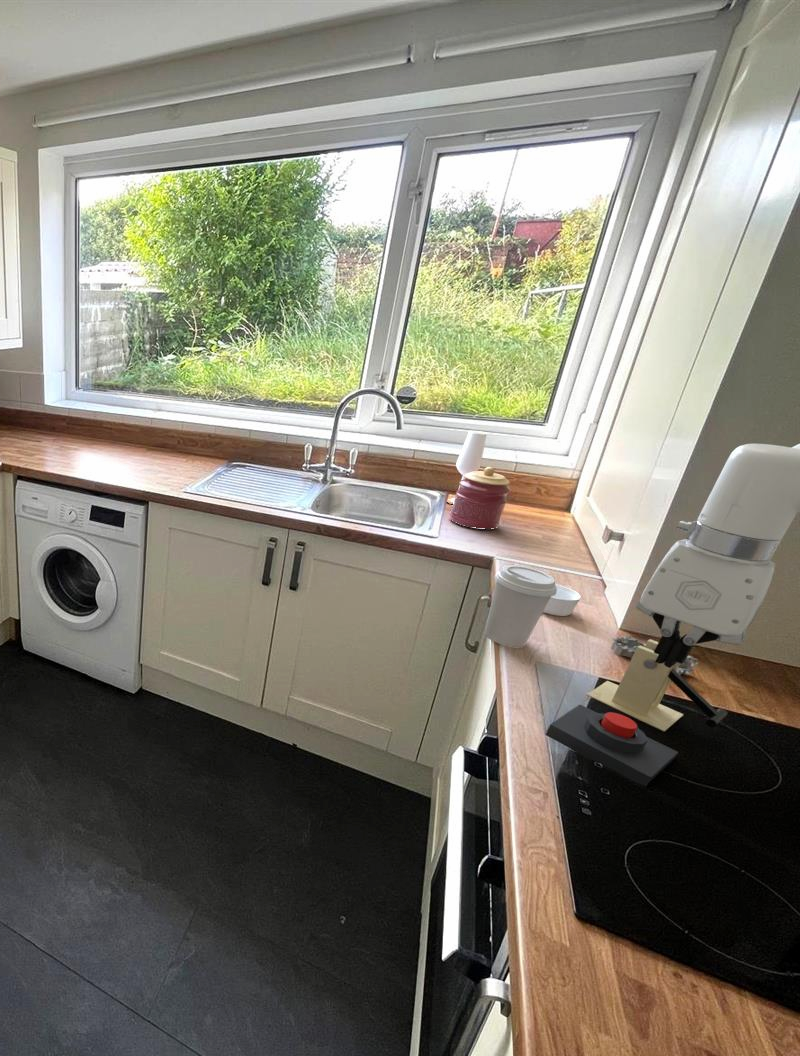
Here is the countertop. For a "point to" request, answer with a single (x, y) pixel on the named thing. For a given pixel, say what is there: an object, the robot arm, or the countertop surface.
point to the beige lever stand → (641, 689)
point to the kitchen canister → (480, 499)
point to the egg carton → (630, 645)
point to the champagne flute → (471, 453)
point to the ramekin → (562, 601)
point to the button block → (611, 745)
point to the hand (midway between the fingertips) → (665, 662)
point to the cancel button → (619, 725)
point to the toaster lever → (698, 700)
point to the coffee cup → (517, 604)
